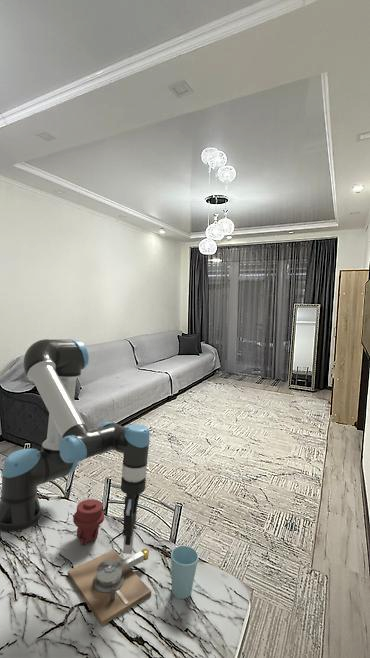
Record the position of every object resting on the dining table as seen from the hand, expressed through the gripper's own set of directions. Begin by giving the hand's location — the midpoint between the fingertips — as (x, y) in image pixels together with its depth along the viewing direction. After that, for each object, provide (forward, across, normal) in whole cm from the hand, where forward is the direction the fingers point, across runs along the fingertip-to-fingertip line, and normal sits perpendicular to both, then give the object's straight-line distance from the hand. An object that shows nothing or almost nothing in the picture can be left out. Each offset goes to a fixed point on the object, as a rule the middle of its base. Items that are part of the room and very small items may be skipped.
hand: (127, 551), depth 101 cm
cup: (+3, -9, -17) cm, 20 cm away
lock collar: (+1, -6, 0) cm, 6 cm away
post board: (+3, -10, +3) cm, 10 cm away
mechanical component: (+3, +8, +15) cm, 18 cm away
